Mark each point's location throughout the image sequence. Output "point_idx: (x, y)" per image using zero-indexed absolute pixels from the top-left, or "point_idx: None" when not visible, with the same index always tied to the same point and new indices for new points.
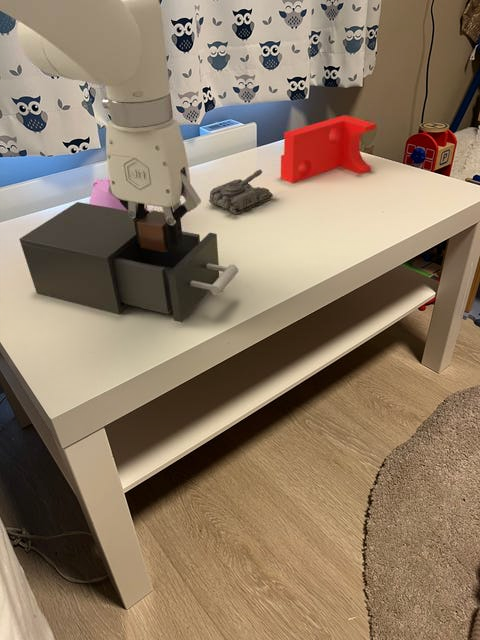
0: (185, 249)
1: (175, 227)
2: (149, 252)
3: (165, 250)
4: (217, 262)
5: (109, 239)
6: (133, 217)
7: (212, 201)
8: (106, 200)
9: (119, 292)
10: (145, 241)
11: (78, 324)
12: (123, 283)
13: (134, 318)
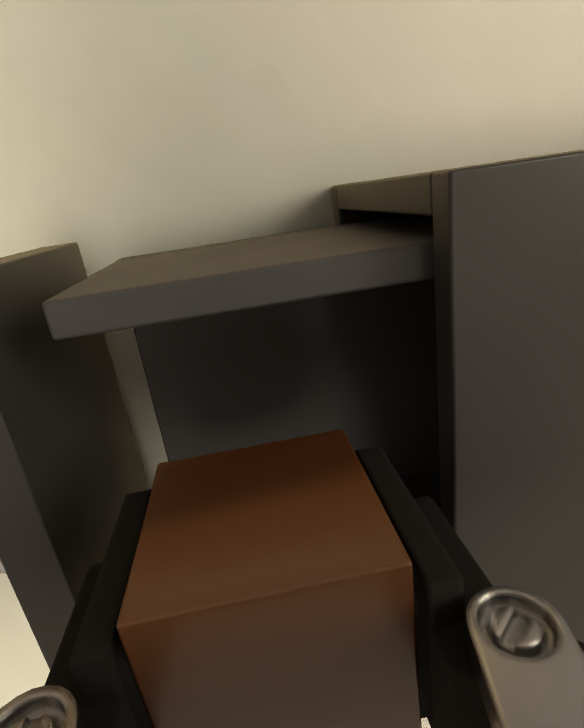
0: None
1: (47, 682)
2: None
3: (155, 474)
4: None
5: (580, 381)
6: (486, 599)
7: None
8: None
9: (363, 226)
10: (311, 465)
11: (438, 40)
12: (344, 234)
13: (261, 197)
